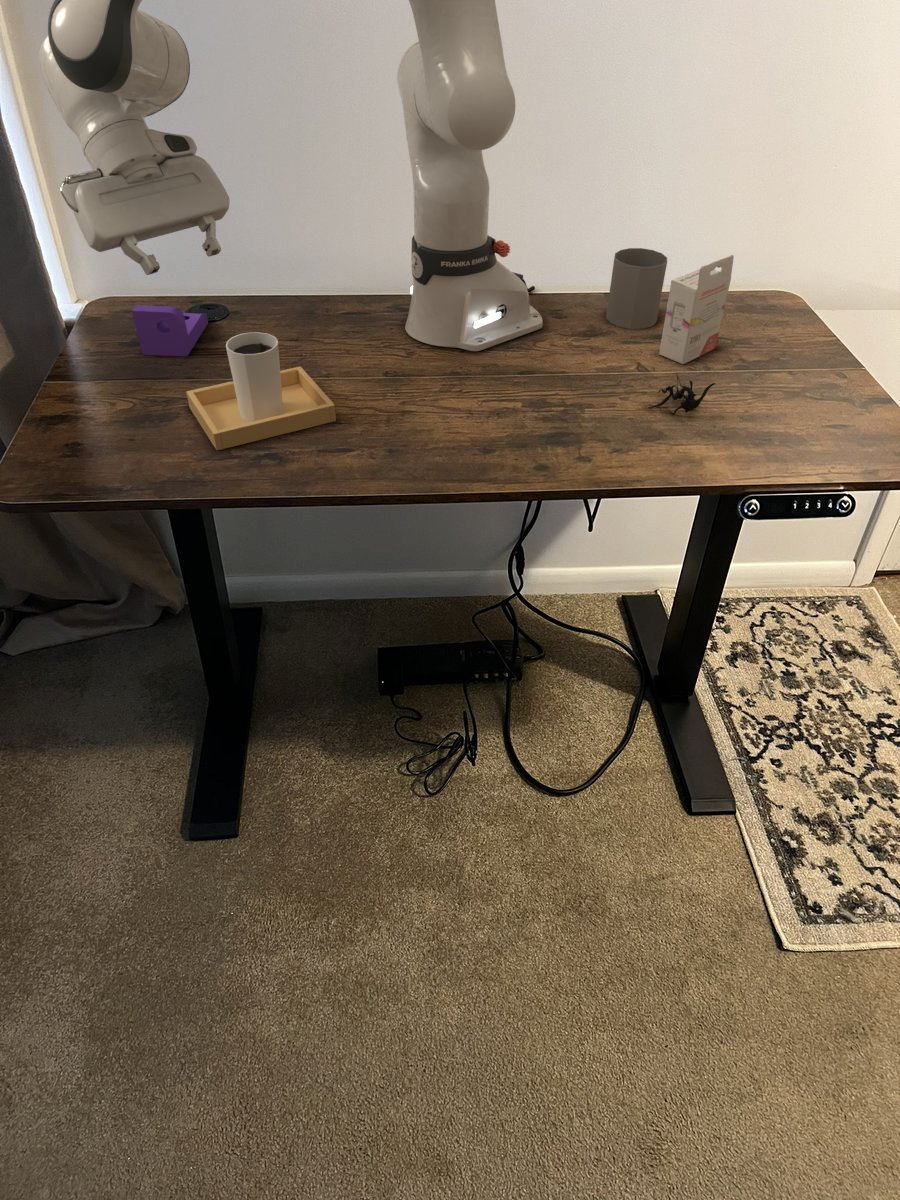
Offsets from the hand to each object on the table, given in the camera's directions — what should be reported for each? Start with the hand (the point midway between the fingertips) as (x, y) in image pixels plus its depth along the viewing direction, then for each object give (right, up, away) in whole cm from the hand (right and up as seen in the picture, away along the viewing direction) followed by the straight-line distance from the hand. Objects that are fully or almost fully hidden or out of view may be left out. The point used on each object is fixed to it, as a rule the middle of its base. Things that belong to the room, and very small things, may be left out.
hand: (185, 262), depth 113 cm
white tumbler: (+9, -19, +5) cm, 21 cm away
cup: (+65, +3, +31) cm, 72 cm away
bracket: (-8, -3, +22) cm, 24 cm away
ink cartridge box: (+71, -6, +22) cm, 75 cm away
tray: (+9, -19, +5) cm, 21 cm away
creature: (+66, -17, +8) cm, 69 cm away
